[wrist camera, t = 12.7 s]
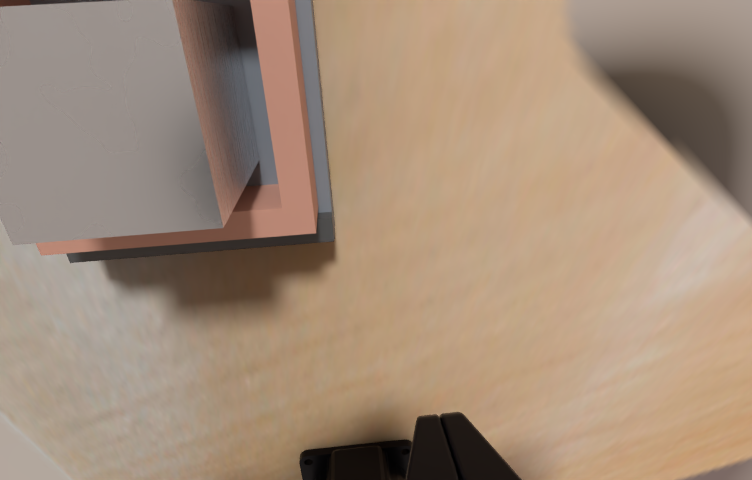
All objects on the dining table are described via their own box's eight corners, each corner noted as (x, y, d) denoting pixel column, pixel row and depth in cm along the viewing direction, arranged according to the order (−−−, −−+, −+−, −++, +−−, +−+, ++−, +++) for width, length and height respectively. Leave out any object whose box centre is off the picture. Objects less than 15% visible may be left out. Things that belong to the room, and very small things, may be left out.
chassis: (334, 223, 19) (334, 270, 16) (98, 242, 19) (43, 295, 15) (300, -124, 14) (288, -172, 10) (-33, -111, 13) (-165, -158, 10)
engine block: (259, 159, 16) (223, 227, 11) (119, 169, 16) (12, 244, 11) (232, 5, 14) (171, -3, 9) (69, 14, 14) (-97, 12, 8)
